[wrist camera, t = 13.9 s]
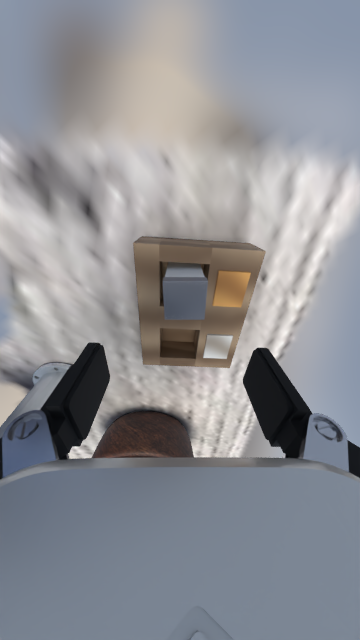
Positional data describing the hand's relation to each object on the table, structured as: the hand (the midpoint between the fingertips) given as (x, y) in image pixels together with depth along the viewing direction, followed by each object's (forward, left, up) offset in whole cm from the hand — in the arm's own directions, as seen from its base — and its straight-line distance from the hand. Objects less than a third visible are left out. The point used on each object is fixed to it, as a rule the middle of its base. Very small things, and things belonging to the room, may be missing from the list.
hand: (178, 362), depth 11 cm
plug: (0, -1, -16) cm, 16 cm away
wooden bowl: (-45, +6, -17) cm, 48 cm away
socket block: (-4, -2, -17) cm, 17 cm away
